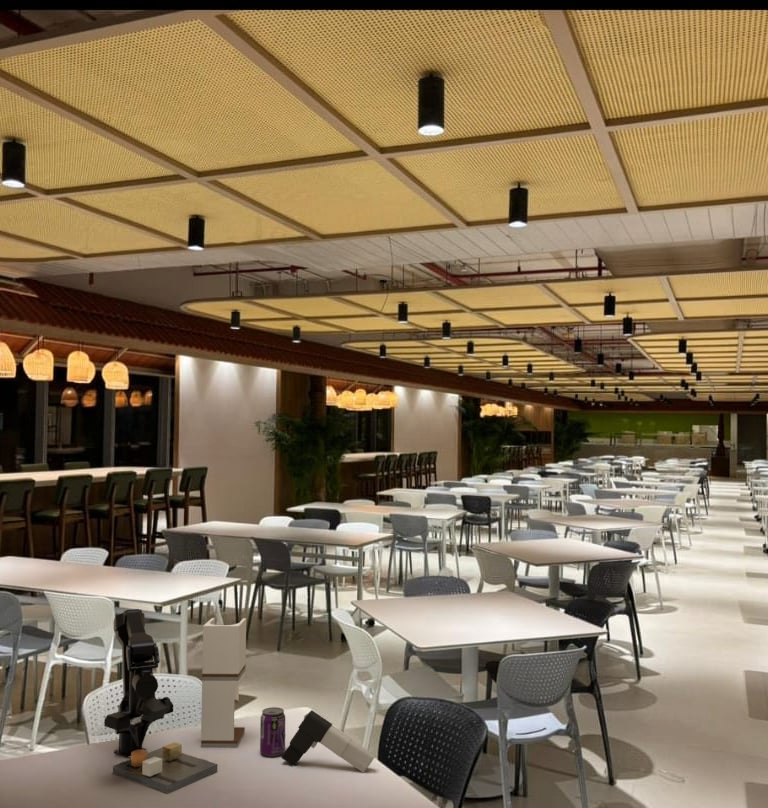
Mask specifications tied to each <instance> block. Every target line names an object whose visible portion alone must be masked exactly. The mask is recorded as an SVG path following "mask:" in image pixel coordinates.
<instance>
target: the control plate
mask: <svg viewBox="0 0 768 808" xmlns="http://www.w3.org/2000/svg"><path fill="white" fill-rule="evenodd" d="M152 757H158V758H161V759H162V772H160V773H157V774H155V775H152V776H150V777H149V776H147V775H144V774H142V766H138V767H135V766H132V765H131V758H130V759H128V760H125V761H122V762H120V763H117V764H115V765H112V774H113V775H116V776H117V777H121V778H124V779H125V780H129V781H132V782H134V783H137V784H140V785H142V786H145V787H148V788H151V789H154V790H157V791H158V792H162V793H165V794H170V793H172V792H175V791H177V790H180V789H181V788H184V787H186V786H188V785H190V784H193V783H195V782H197V781H200V780H202V779H204V778H207V777H209V776H212V775H213V774H215V773H218V763H215V762H211V761H209V760H205V759H202V758H198V757H196V756H193V755H190V754H187V753H183V752H182V756H181V757H179V758H176V759H174V760H171V761H168V760H165V759H163V746H162V747H159V748H157V749H154V750H152V751H149V752H147V759H150V758H152Z"/></svg>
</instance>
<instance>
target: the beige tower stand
mask: <svg viewBox="0 0 768 808" xmlns="http://www.w3.org/2000/svg"><path fill="white" fill-rule="evenodd" d="M246 651H247V618H245V617H243V618H242V619H241V620H240V621H239V622H238V623H234V624H226V625H223V624H221V625H219V624H216V617H212V618H210V619H209V620H208V621H207V622H206V623H205V624H204V625H202V661H201V662H202V664H201V666H202V668H201V669H202V670H201V671H202V672H201V674H202V675H201V723H200V724H201V725H200V727H201V728H200V732H201V733H200V748H201V749H202V748H207V749H209V748H212V749H213V748H215V749H216V748H219V749H223V748H224V749H227V748H228V749H229V748H230V749H238V747H239V745H240V743H241V741H242V740H243V737H245V734H246V733H245V731H246V729H245V727H243V726H242V727H241V726H239V727H238V726H237V727H236V726H235V705H237V704H238V703H239V697H240V688H239V687H240V683H241V682H242V681H243V679H244V678H245V676H246V666H247V665H246V659H247V657H246V656H247V653H246Z"/></svg>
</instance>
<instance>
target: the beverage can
mask: <svg viewBox="0 0 768 808" xmlns="http://www.w3.org/2000/svg"><path fill="white" fill-rule="evenodd" d="M284 712H285V710H284V708H282V707H277V706H275V707H273V706H272V707H266V708H264V709H262V711H261V713H262V714H261V716H260V727H259V728H260V729H259V730H260V735H259V737H260V738H259V745H260V746H259V752H260V754H262V755H264V756H266V757H278V756H280V755H281V754H282V755H283V753H284V752H285V751H286V715H285V713H284Z"/></svg>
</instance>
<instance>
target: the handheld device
mask: <svg viewBox="0 0 768 808" xmlns="http://www.w3.org/2000/svg"><path fill="white" fill-rule="evenodd" d="M297 728H298V730H297V731H296V732H295V734H294V735H293V737H292V738H291V740H290V742H289V745H288V746H287V748H285V751H284V752H283V753H282V755H281V756H280V758H281V759H282V760H284V761H285V762H287V763H288V764H289V765H291V766H292V767H295V766H296V765H297V764H298V763H299V762H300V759H301V758H302V757H303V755H304V754H306V753H307V752H308V751H309V749H310V748H312V749H315V747H317V745H318V743H319V744H321V745H322V746H324V747H325V748H326V749H328V751H331V752H332V753H333V754H335V755H337V756H338V757H339V758H341V759H342V760H343V761H345V762H347V763H348V764H349V765H351V766H353V767H354V768H356V769H357V770H358V771H360V772H361V773H365V772H366V771H367V769H368V767H370V765H371V764H372V762H373V761H374V758H375V755H374V754H373V753H371V752H370V751H369V750H368V749H366V748H365V747H363V746H362V745H360V744H359V743H358V742H357V741H355V740H353V738H352V737H351V736H349V735H348V734H346V733H344V732H343V731H341V730H340V729H339V728H338V727H336V726H334V725H333V723H331V722H330V721H329V720H327V719H326V718H324V717H323V716H321V715H320V714H318V713H317V711H316V712H315V711H314V710H313V709H311V710H310V711H308V713H306V714H305V715H304V716H303V720H302V721H301V723H300V724H299V726H298V727H297Z"/></svg>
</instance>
